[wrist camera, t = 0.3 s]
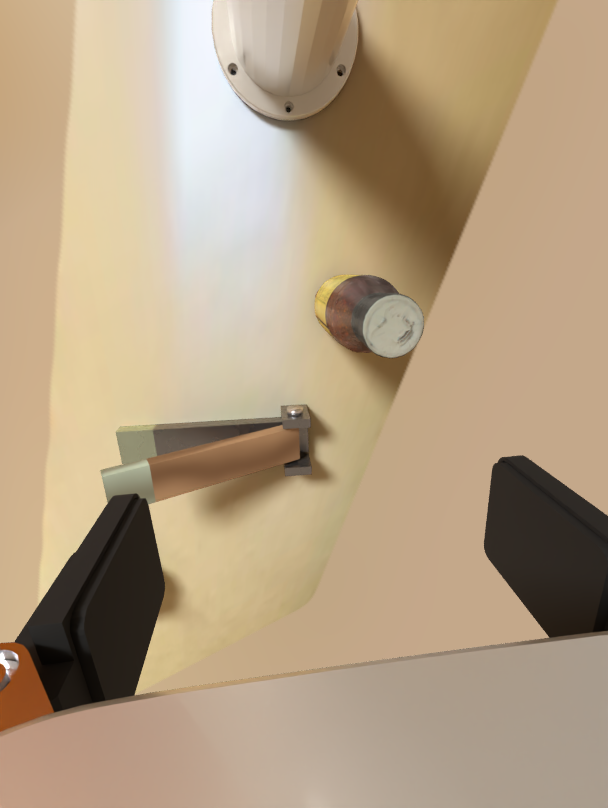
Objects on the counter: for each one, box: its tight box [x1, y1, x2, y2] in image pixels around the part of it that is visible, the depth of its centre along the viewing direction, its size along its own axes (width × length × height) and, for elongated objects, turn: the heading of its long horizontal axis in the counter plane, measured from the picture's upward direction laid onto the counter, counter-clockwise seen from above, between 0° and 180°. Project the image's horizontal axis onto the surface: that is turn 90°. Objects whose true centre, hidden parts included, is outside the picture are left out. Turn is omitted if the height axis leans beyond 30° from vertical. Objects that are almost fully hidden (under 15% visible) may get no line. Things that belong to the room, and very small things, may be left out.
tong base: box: [116, 405, 312, 476], centre depth 46 cm, size 8×22×4 cm, turn 92°
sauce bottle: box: [315, 275, 424, 358], centre depth 34 cm, size 6×6×20 cm
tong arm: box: [100, 425, 300, 504], centre depth 41 cm, size 4×20×2 cm, turn 92°
